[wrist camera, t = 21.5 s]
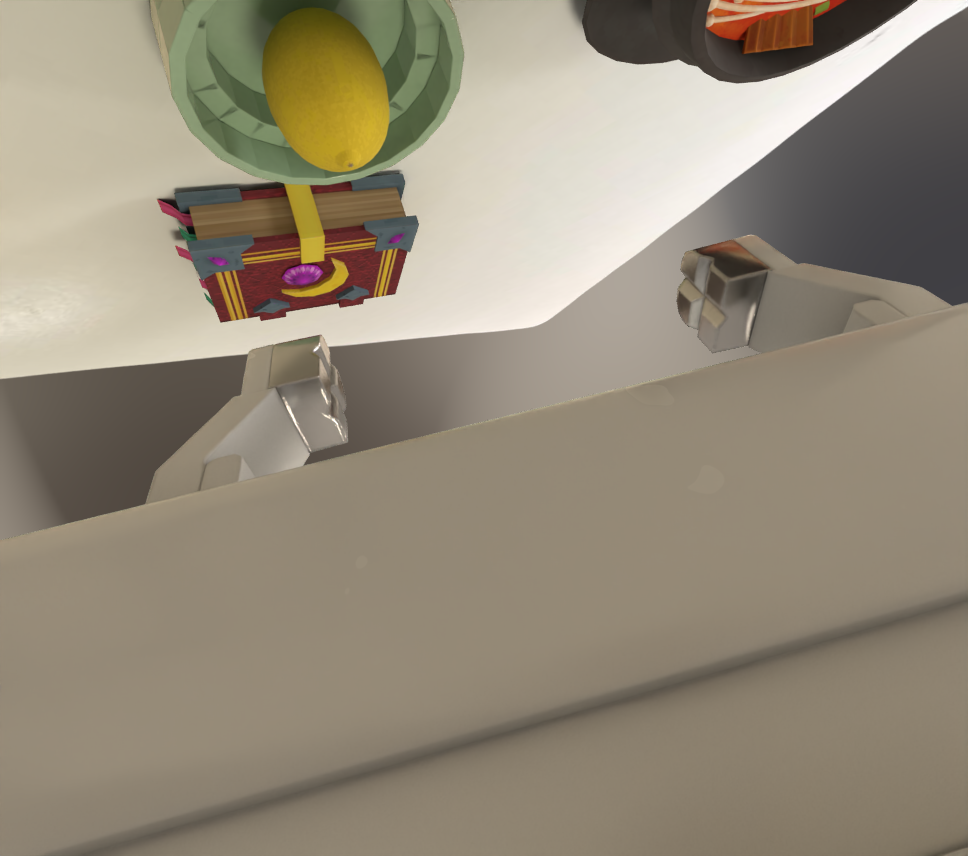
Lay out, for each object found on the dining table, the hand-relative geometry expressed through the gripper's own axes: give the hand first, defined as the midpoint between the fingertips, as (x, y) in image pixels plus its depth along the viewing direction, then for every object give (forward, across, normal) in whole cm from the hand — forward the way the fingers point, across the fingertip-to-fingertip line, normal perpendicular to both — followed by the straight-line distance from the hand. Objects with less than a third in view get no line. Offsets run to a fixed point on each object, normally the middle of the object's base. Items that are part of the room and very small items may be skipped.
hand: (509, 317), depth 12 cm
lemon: (+23, +4, -4) cm, 24 cm away
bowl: (+24, +4, -4) cm, 24 cm away
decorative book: (+33, +10, +9) cm, 36 cm away
